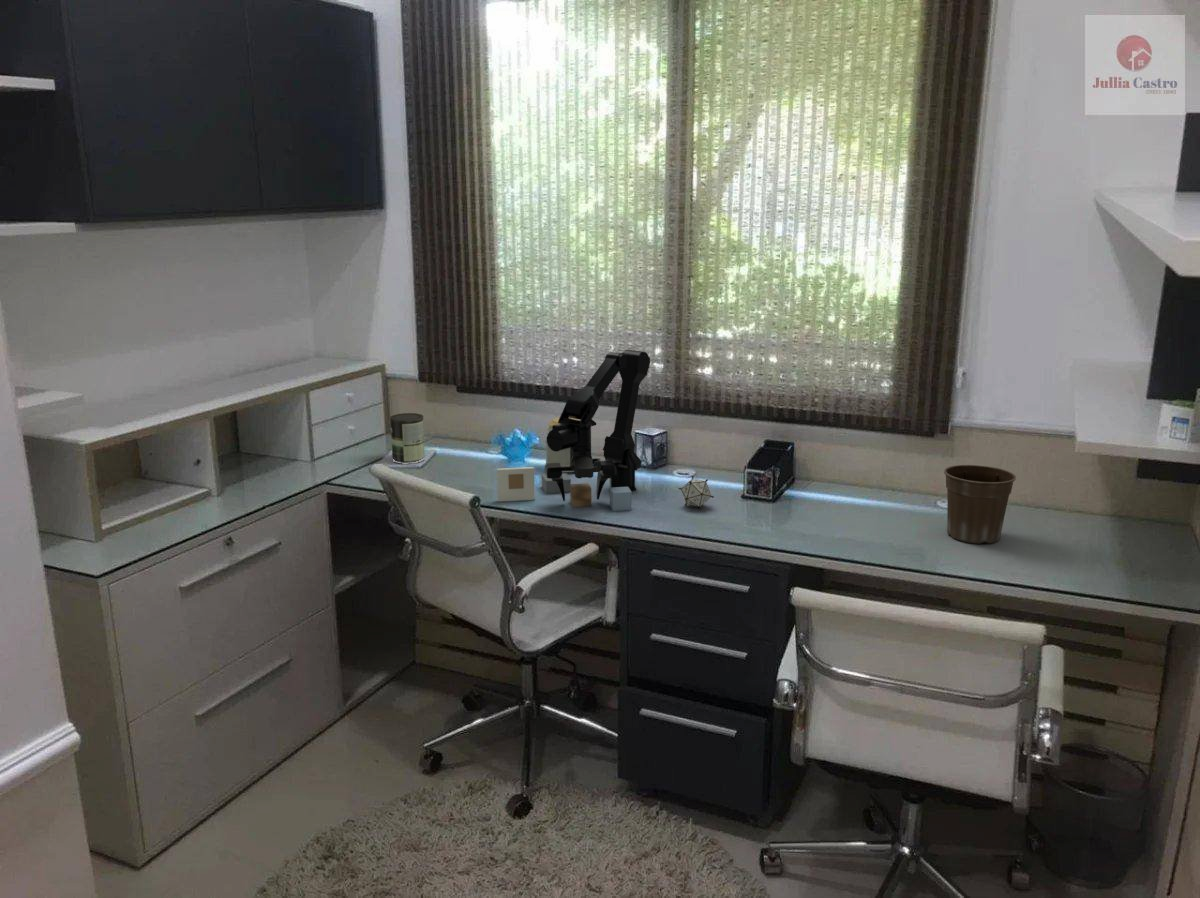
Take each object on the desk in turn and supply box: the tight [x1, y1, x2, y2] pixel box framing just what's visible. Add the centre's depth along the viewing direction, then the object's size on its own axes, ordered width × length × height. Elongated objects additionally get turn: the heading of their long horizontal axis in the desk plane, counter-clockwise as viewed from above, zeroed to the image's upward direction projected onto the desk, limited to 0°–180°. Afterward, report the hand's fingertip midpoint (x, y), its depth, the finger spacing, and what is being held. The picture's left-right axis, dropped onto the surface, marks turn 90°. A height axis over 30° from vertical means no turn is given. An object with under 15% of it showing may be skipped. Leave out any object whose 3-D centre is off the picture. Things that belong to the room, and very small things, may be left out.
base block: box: [541, 473, 572, 495], centre depth 274 cm, size 7×7×4 cm
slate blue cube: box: [609, 486, 633, 512], centre depth 258 cm, size 5×5×5 cm
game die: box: [678, 475, 715, 511], centre depth 258 cm, size 9×8×10 cm
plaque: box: [496, 466, 536, 502], centre depth 264 cm, size 10×2×9 cm, turn 100°
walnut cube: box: [569, 482, 592, 508], centre depth 261 cm, size 5×5×5 cm
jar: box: [545, 416, 579, 475], centre depth 293 cm, size 13×13×18 cm
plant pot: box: [943, 464, 1017, 544], centre depth 235 cm, size 16×16×16 cm
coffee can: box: [389, 412, 426, 463], centre depth 303 cm, size 10×10×14 cm
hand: (580, 499), depth 262 cm, fingers open, 9 cm apart
